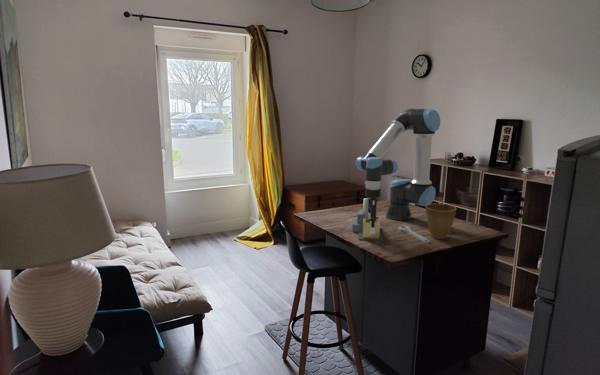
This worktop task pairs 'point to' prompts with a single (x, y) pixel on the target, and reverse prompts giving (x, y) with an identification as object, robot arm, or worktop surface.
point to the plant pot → (440, 219)
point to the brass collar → (366, 229)
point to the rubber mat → (370, 238)
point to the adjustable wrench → (413, 233)
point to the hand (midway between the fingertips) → (371, 229)
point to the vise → (361, 217)
